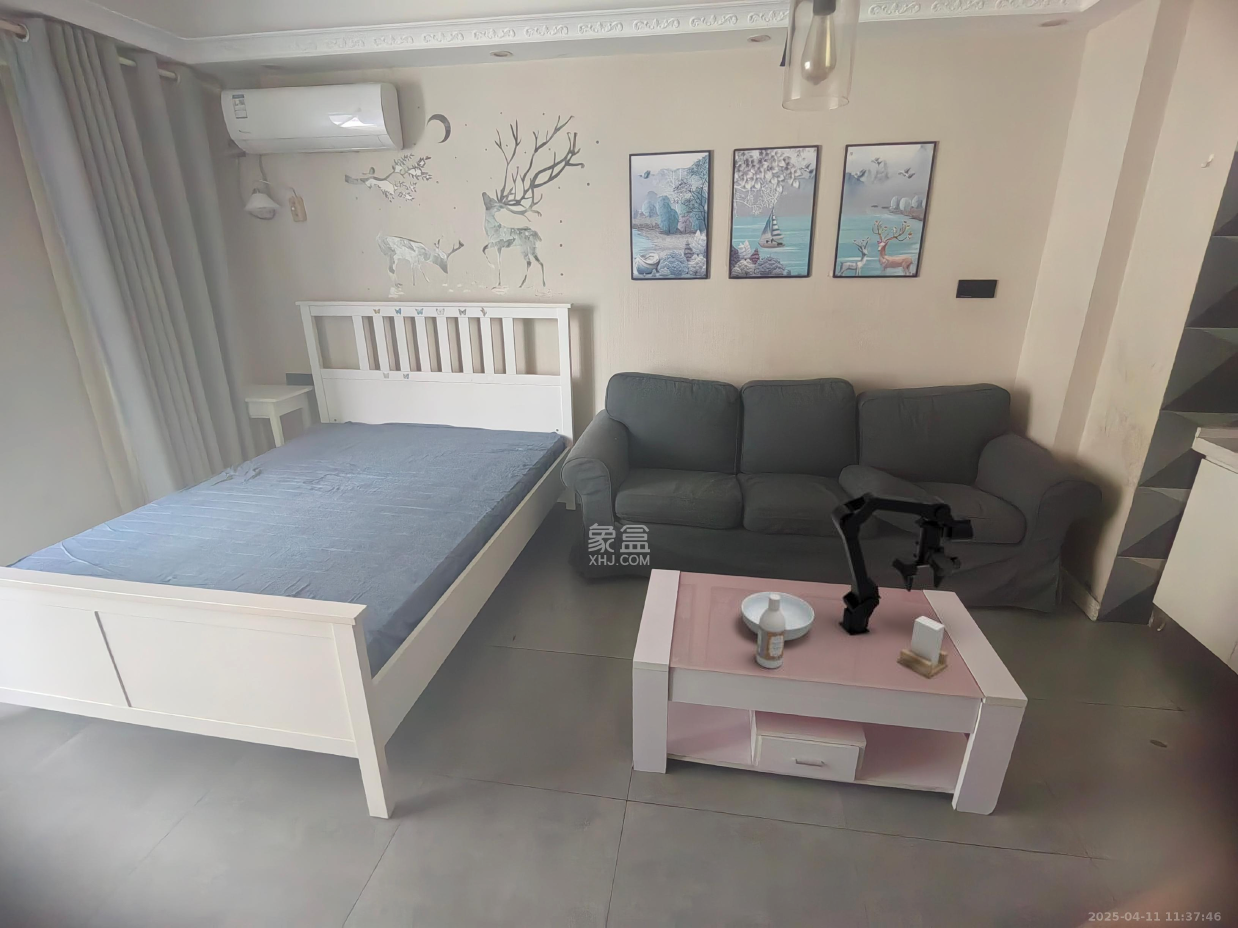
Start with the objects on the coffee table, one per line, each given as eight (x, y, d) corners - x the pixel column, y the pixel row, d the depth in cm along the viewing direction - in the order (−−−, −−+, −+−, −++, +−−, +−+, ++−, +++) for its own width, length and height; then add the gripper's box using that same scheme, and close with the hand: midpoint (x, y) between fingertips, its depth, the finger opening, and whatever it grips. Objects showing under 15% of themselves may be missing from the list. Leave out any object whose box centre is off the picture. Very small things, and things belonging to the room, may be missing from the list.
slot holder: (897, 661, 167) (899, 649, 166) (915, 649, 172) (917, 638, 171) (929, 678, 160) (931, 666, 159) (947, 665, 165) (949, 653, 164)
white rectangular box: (908, 658, 167) (915, 619, 164) (916, 653, 169) (922, 615, 166) (929, 669, 163) (937, 630, 159) (937, 664, 165) (944, 625, 161)
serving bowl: (740, 607, 194) (741, 588, 192) (809, 614, 190) (811, 595, 188) (739, 645, 175) (740, 624, 173) (815, 654, 171) (817, 632, 169)
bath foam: (763, 670, 163) (768, 604, 157) (751, 655, 170) (756, 591, 164) (786, 667, 165) (793, 601, 159) (774, 652, 171) (780, 588, 165)
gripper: (921, 556, 165) (913, 607, 169) (980, 549, 169) (970, 599, 174) (894, 539, 175) (887, 587, 180) (950, 533, 179) (942, 580, 184)
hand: (922, 589), depth 179 cm, fingers open, 9 cm apart
